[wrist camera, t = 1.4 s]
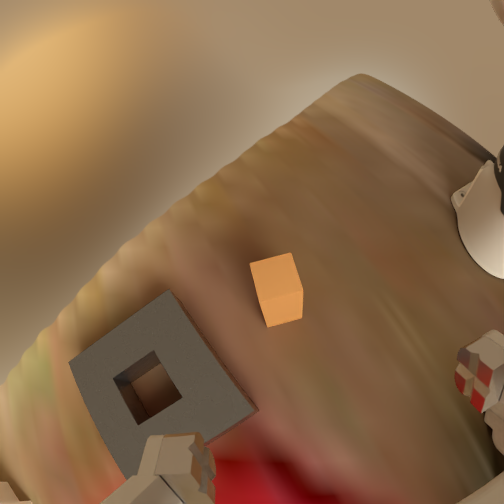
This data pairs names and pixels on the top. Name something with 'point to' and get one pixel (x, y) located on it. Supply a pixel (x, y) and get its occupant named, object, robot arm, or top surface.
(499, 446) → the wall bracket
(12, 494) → the corner bracket
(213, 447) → the top surface
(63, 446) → the top surface
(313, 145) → the top surface
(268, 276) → the square block
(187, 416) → the square hole plate
